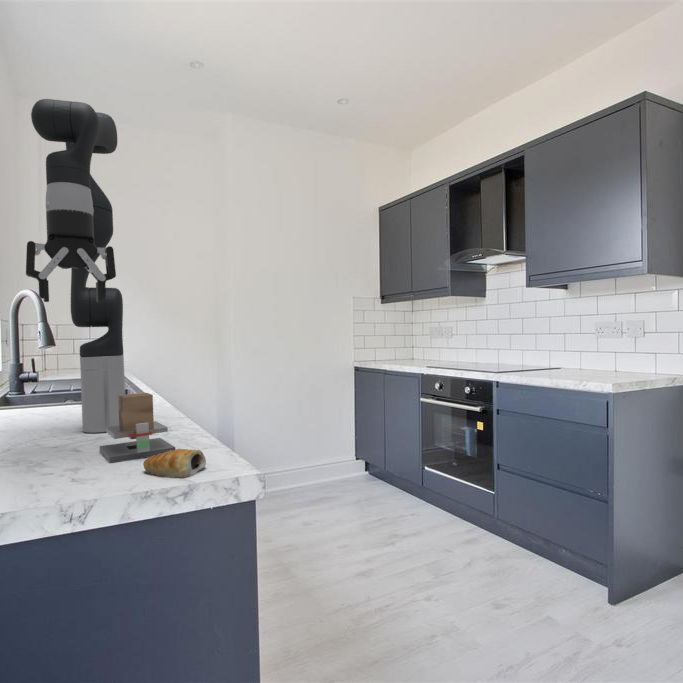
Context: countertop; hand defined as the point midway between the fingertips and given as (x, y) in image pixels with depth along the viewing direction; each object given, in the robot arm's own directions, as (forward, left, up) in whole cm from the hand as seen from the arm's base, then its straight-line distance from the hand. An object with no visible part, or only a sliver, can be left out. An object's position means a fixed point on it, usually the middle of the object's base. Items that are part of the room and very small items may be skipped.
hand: (73, 301), depth 89 cm
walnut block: (+5, +9, -23) cm, 26 cm away
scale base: (+5, +9, -28) cm, 30 cm away
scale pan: (+6, +9, -25) cm, 27 cm away
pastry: (+24, +11, -28) cm, 39 cm away
